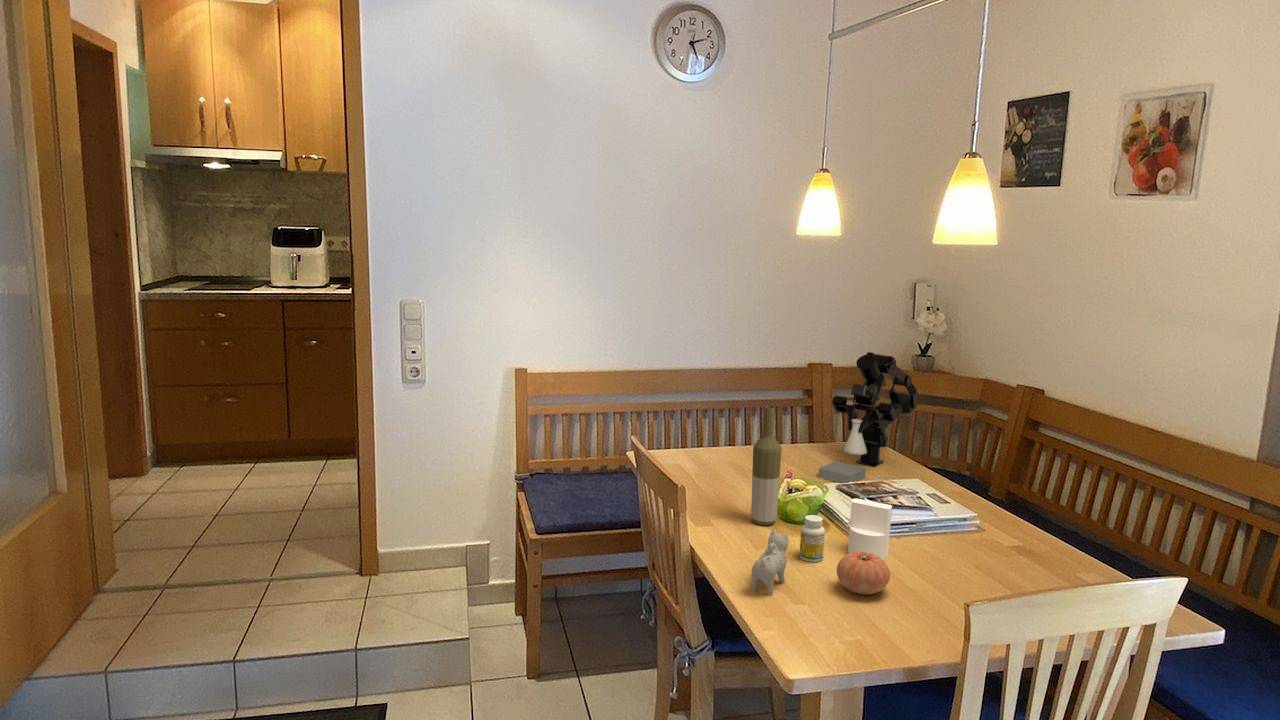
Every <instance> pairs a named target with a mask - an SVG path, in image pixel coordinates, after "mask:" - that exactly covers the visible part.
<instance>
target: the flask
mask: <svg viewBox="0 0 1280 720" xmlns="http://www.w3.org/2000/svg"><path fill="white" fill-rule="evenodd" d="M861 423H862V420H860V418H857V419H852V429H851V431H850V433H849V436H848V439H847V441H846V443H845V446H844V448H843V453H846V454H849V455H854V456H855V455H856V456H861V455H863V454H867V449H866V446H865V443H864V439H863V436H862V432H861V433H859V427H860V425H861Z"/></svg>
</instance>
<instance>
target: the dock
mask: <svg viewBox="0 0 1280 720" xmlns="http://www.w3.org/2000/svg"><path fill="white" fill-rule="evenodd" d="M866 472H867V468H866V467H863V466H859V465H854V464H850V463H846V462H842V461H837V460H835V461H833V462H830V463H827V464H825V465H823V466H821V467H819V468H818V477H820V478H819V479H821V478H824V479H823V480H825V479H827V481H829V480H831V481H830V482H833V481H835V482H834V483H837V482H840V483H839V484H841V483H849V482H855V481H858V482H860V481H861V480H864V479H866Z"/></svg>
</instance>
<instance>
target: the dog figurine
mask: <svg viewBox="0 0 1280 720" xmlns="http://www.w3.org/2000/svg"><path fill="white" fill-rule="evenodd" d="M767 545H768V546H767V548H766V549H765V550H764V552H763V553H762V554H761V555H760V556H759V558H758V559H757V560H755V562H754V563H753V565H752V568H751V588H750V591H752V590H753V592H756V590H757V584H758V582H759V581H761V582H762V583H764V584H765V586H766V587H767V591H766V594H767V595H768V594H769V596H773V595H774V582H775V581H774V580H775V577H776V575H777V578H778V583H780V584H782V583H783V585H784V584H786V578H785V570H786V567H787V564H788V561H787V559H788V558H787V554H786V551H787V549H788V548H789V535H788V533H785V532H784V533H781V534H778V531H777V529H776V530H775V529H774V530H772V531H770V536H768V539H767Z"/></svg>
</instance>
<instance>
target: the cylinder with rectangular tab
mask: <svg viewBox="0 0 1280 720" xmlns="http://www.w3.org/2000/svg"><path fill="white" fill-rule="evenodd" d="M850 503H851V504H850V517H849V519H850V520H849V529H848V530H849V533H848V543H847V545H848V546H847V552H848V554H849V553H852V552H867V553H871V554H874V555H876V556H878V557H880V558H881V559H882V560H886V559H887V558H888V556H889V548H890V547H889V546H890V545H889V544H890V535H891V521H892V510H893V505H891V504H886V503H882V502H878V501H877V502H876V501H872V500H871V501H870V500H866V499H861V498H856V497H855V498H853V499H851V502H850Z"/></svg>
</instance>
